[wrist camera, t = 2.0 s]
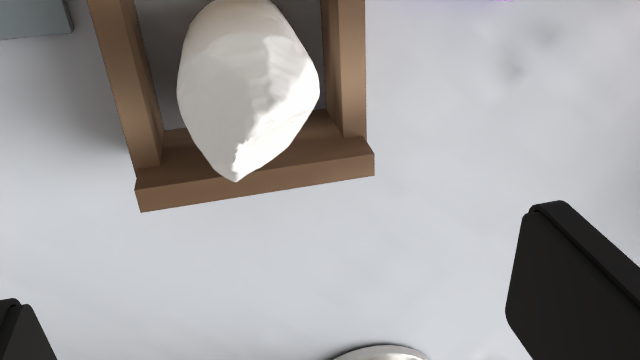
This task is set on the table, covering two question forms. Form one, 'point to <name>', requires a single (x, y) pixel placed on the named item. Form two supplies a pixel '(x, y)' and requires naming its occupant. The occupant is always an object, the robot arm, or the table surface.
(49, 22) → the mat
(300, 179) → the rack
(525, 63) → the table surface
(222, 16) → the white tall rounded lump
